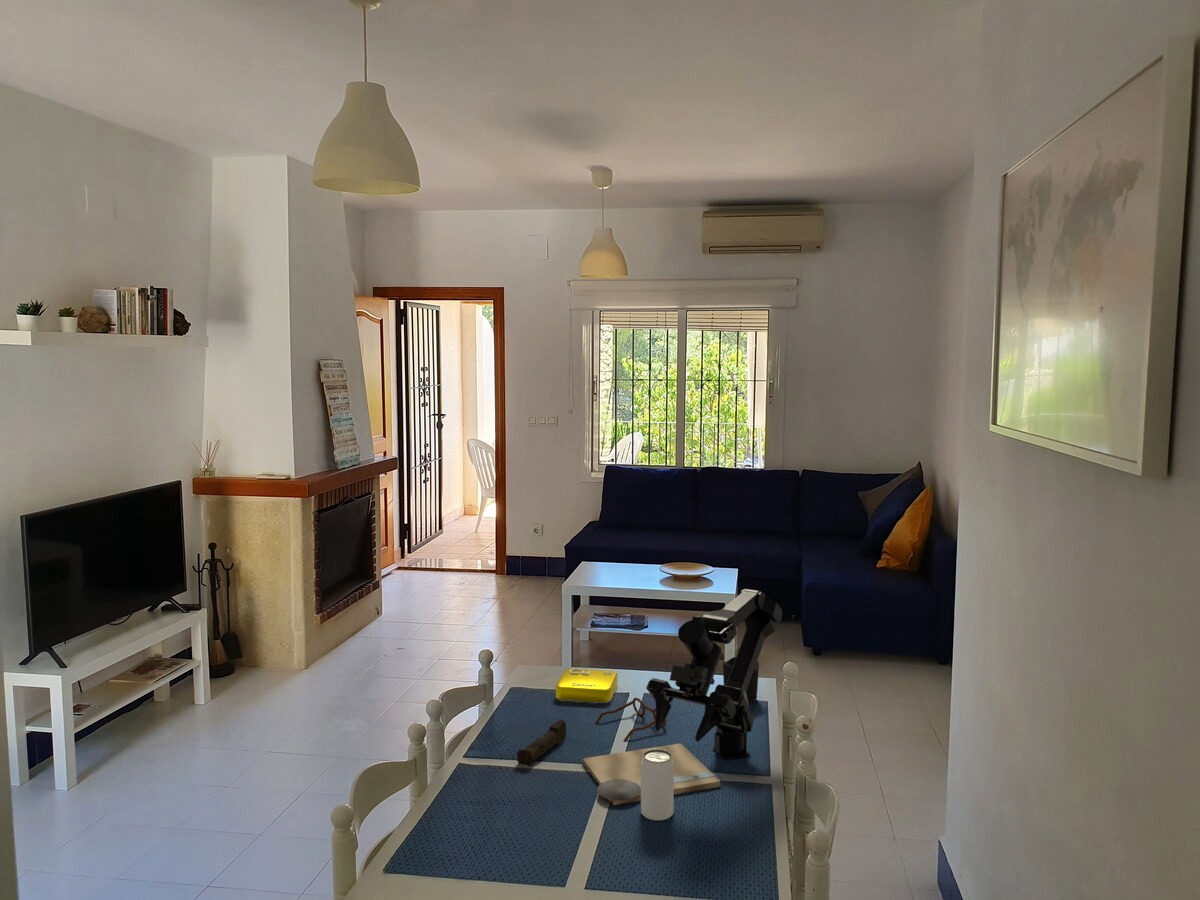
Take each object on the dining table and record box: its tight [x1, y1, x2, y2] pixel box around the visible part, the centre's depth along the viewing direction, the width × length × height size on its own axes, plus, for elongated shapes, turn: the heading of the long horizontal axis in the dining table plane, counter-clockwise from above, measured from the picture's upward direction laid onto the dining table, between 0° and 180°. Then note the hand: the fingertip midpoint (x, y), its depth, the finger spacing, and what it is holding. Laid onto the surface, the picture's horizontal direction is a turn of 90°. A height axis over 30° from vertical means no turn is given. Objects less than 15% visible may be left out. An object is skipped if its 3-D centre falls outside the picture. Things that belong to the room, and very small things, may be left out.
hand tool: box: [516, 719, 567, 767], centre depth 204 cm, size 19×4×5 cm, turn 150°
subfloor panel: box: [582, 742, 721, 806], centre depth 191 cm, size 26×21×1 cm
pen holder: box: [722, 656, 760, 704], centre depth 236 cm, size 9×9×10 cm
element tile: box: [555, 668, 618, 702], centre depth 241 cm, size 15×15×5 cm
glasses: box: [594, 697, 667, 742], centre depth 218 cm, size 13×13×5 cm
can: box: [640, 749, 675, 822], centre depth 175 cm, size 6×6×12 cm
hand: (676, 735), depth 180 cm, fingers open, 9 cm apart
